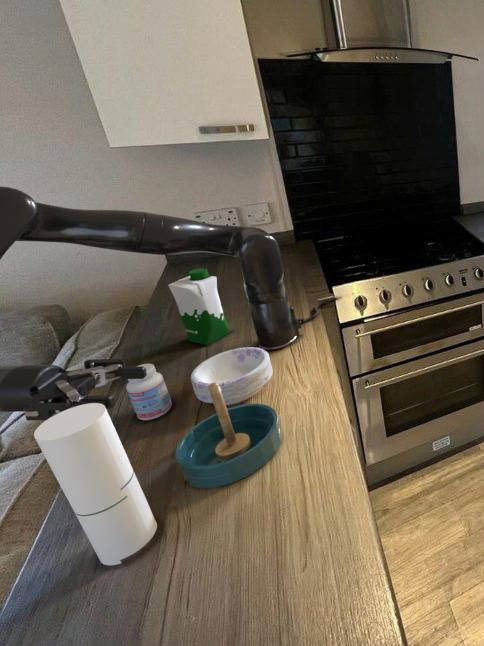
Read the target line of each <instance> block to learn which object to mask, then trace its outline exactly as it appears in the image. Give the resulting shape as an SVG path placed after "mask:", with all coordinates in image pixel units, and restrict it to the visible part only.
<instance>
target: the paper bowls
mask: <svg viewBox="0 0 484 646" xmlns="http://www.w3.org/2000/svg"><path fill="white" fill-rule="evenodd" d="M273 371H274V370H273V366H272V362H271V358H270V354H269V352H268V351H267V350H263V349H261V348H260V347H253V346H252V347H251V346H247V347H246V346H245V347H238V348H237V347H236V348H233V349H229V350H226V351H223V352H220V353H217V354H215V355H213V356H210V357H209V358H207V359H205V360H204V361H203V362H201V363H199V364H198V365H197V366H196V367H195V368H194V369H193V371H192V372H191V375H190V383H191V385H192V389H193V392H194V395H195V397H196V398H197V399H198V400H199V401H201V402H203V403H208V404H214V403H213V400H212V397H211V394H210V391H209V385H210V384H211V383H214V382H216V383H218V384H219V386H220V389H221V392H222V395H223V398H224V401H225V405H226V406H231V405H235V404H238V403H242V402H245V401H246V400H248V399H250V398H252V397H253V396H255V395H256V394H257V393H259V392H260V391H261V390H262V388H263V387H264V386H265V385H266V384H267V383H268V382H269V381H270V380H271V378H272V377H273V374H274V372H273Z"/></svg>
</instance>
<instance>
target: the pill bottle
mask: <svg viewBox="0 0 484 646" xmlns="http://www.w3.org/2000/svg"><path fill="white" fill-rule="evenodd" d="M136 366H137V367H138V366H142V367H145V368H146V373H147V375H146V377H144V378H143V379H126V380H127V381H128V382H127V384H126V386H125V387H126V388H125V390H126V393H127V395H128V397H129V400H130V402H131V404H132V407H133V409H134V410H133V411H134V412H135V415H136V417H137V419H138V420H142V421H150V420H155V419H158V418H159V417H162V416H164V415H165V414H166V413H168V412H169V411H170V410H171V408H172V407H173V406H172V405H173V402H172V400H171V399H172V398H171V396H170V393H169V391H168V388H167V385H166V381H165V379H164V377H163V375H162V374H161V373H160V372H157V371H156V370H157V368H156V367H155V364H153V363H143V364H139V365H136Z"/></svg>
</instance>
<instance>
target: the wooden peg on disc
mask: <svg viewBox="0 0 484 646" xmlns="http://www.w3.org/2000/svg"><path fill="white" fill-rule="evenodd" d="M209 391H210V394H211V397H212V400H213V403H212V404H213V406H214V409H215V412H216V413H217V415H218V418H219V421H220V424H221V427H222V430H223V433H224V436H225V439H223V440H222V441H221V442H220V443H219V444H218V445H217V447H216V449H215V452H216V455H217V458H218V460H219V461H220V462H221V463H222V462H225V461H229V460H231V459H233V458H235V457H237V456H240V455H242V454H244V453H245V452H247V451H248V450H250V449H251V446H252V445H251V442H250V438H249V436H248V435H247V434H245V433H238V434H235V433H234V430H233V427H232V423H231V420H230V417H229V414H228V411H227V409H228V407H227V405H225V401H224V398H223V395H222V392H221V389H220V386H219V384H218V383H216V382H214V383H211V384H210V385H209Z"/></svg>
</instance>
